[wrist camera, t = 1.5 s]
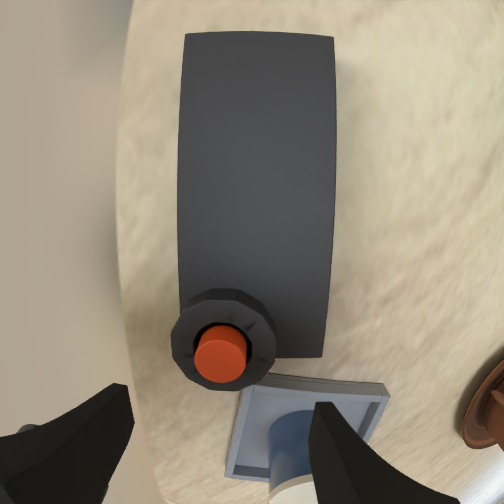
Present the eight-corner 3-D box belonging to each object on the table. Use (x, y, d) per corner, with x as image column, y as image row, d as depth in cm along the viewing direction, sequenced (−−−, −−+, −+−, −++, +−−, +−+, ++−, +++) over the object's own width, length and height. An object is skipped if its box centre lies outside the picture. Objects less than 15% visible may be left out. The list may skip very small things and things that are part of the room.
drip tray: (225, 463, 23) (224, 477, 21) (246, 369, 21) (245, 383, 19) (340, 471, 23) (343, 484, 21) (383, 383, 21) (390, 396, 19)
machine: (313, 352, 21) (325, 391, 16) (189, 350, 21) (175, 387, 16) (324, 54, 17) (341, 22, 12) (191, 51, 17) (174, 19, 12)
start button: (246, 366, 16) (245, 384, 15) (201, 363, 16) (195, 382, 15) (247, 325, 16) (246, 341, 14) (199, 323, 16) (192, 338, 14)
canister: (259, 453, 22) (259, 522, 15) (274, 405, 21) (279, 479, 14) (324, 458, 22) (338, 523, 15) (345, 411, 21) (369, 479, 14)
